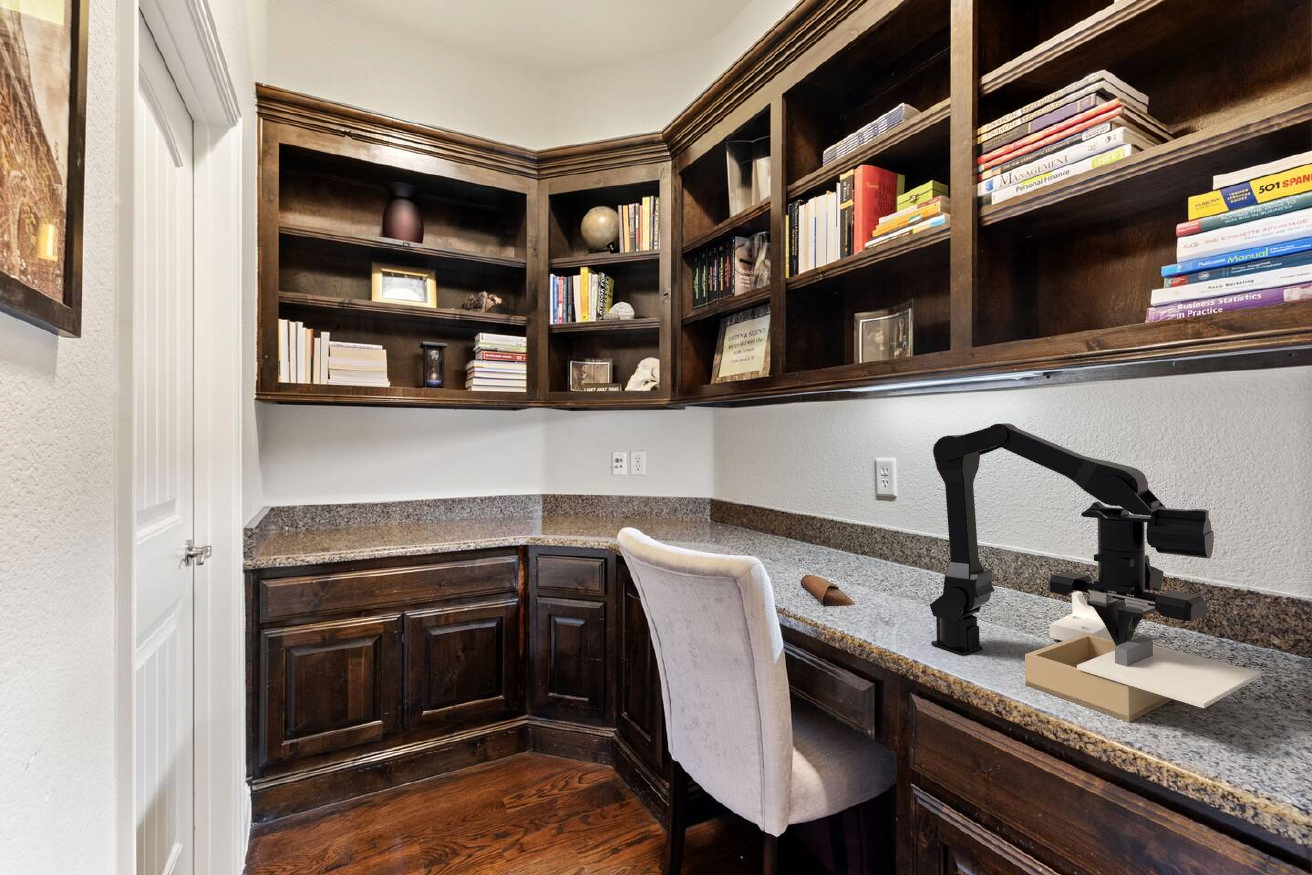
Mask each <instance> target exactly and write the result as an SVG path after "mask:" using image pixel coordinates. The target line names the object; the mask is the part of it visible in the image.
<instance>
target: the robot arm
mask: <svg viewBox="0 0 1312 875" xmlns="http://www.w3.org/2000/svg"><path fill="white" fill-rule="evenodd" d="M1001 448H1002V449H1004V450H1006V451H1009V452H1011V453H1013V454H1014V455H1017V456H1019V457H1021V458H1024V459H1025V460H1028V461H1030V462H1033V463H1035V464H1037V465H1038V466H1041V467H1044V468H1046V469H1048V470H1050V471H1053V472H1054V473H1057V474H1060V475H1062V476H1063V477H1066V478H1067V479H1069V480H1071V481H1072V482H1073V483H1075V484H1076V485H1077V486H1078V487H1079V488H1080V489H1082V490H1083V491H1084V492H1085V493H1087V494H1089V495H1090V496H1091V497H1093V498H1095V499H1096V500H1098V501H1094V502H1092V504H1090V506H1089V507H1088V508H1087V509H1085V510H1084V511H1082V512H1081V513H1080V516H1082V517H1083V518H1092V519H1093V518H1095V519H1097V553H1095V554H1093V562H1097V574H1098V575H1097V577H1098V578H1097V579H1096V580H1094V581H1093V578H1091V576H1090V575H1089V574H1085V573H1078V572H1073V571H1070V570H1069V571H1068V570H1067V571H1066V570H1065V571H1063V572H1059V573H1054V574H1051V576H1050V577H1049V579H1048V581H1047V588H1048V592H1049V593H1051V594H1052V593H1053V594H1057V595H1061V596H1065V597H1067V596H1070V595H1072V593H1074V592H1076V591H1079V592H1083V593H1087V594H1089V600H1088V601H1087V600H1086V601H1087V605H1088V606H1092V607H1093V608H1094V609H1095V611H1096V612H1097V614H1098V615H1099V617H1100V618H1101V620H1102V621H1103V623H1104V624H1105V626H1106V628H1107V630H1108V632H1109V634H1110V635H1111V637H1112V639H1113V641H1114V643H1115V645H1116V646H1118V645H1120V644H1123V643H1125V642H1128V641H1131V640H1132V638H1133V637H1134V634H1135V632H1136V630H1137V627H1138V626H1139V624H1140V623H1141V621H1142V619H1143V618H1144V617H1145V616H1148V615H1150V614H1153V613H1156V612H1157V613H1158V614H1159V615H1160V616H1161V617H1165V618H1169V619H1174V620H1179V621H1183V622H1193V621H1195V620H1198V619H1200V618H1202V617H1206V616H1207V615H1208V612H1207V611H1208V610H1207V608H1208V607H1207V606H1208V604H1207V602H1206V600H1205V598H1203V596H1202V595H1200V594H1196V593H1195V594H1194V593H1189V592H1184V591H1178V590H1172V589H1171V590H1168V591H1165V592H1161V591H1162V585H1163V581H1164V580H1163V579H1164V574H1165V572H1164V570H1161V569H1159V568H1157V567H1155V566H1152V565H1151V564H1150V558H1149V554H1148V555H1147V554H1146V546H1145V545H1146V544H1145V543H1147V544H1148V545H1149V546H1150V548H1155V551H1156V552H1157V553H1159V554H1166V555H1174V556H1183V557H1189V558H1190V557H1191V558H1199V559H1200V558H1201V559H1206V560H1207V559H1211V557H1212V555H1213V551H1214V542H1215V532H1214V530H1212V523H1211V520H1210V516H1209V514H1210V513H1209V512H1210V511H1209V510H1208V509H1202V508H1194V509H1182V508H1169V507H1167V508H1166V506H1165V505H1164V504H1163V502H1162V501H1161V500H1160V499H1159V498H1158V497H1157V496H1156V495H1155V494H1154V493H1153V492H1152V491H1151V489H1150V488H1149V482H1148V479H1147V478H1146V475H1145V474H1144V472H1143V471H1141V470H1140V469H1138V468H1136V467H1134V466H1129V465H1125V464H1122V463H1117V462H1113V461H1109V460H1104V459H1099V458H1093V457H1089V456H1085V455H1082V454H1080V453H1078V452H1076V451H1073V450H1070V449H1068V448H1066V447H1063V446H1062V445H1059V444H1056V443H1055V442H1051V441H1049V440H1047V439H1044V438H1042V437H1040V436H1037V435H1035V434H1032V433H1030V432H1027V431H1025V430H1023V429H1021V428H1018V427H1016V426H1015V425H1014V424H1011V423H1007V422H1006V423H1003V422H1002V423H995V424H992V425H990V426H988V427H985V428H982V429H979V430H975V431H972V432H969V433H965V434H954V435H953V434H952V435H945V436H942V437H940V438H939V439H937V441H936V442H935V443H934V444H933V448H932V454H933V458H934V463H935V467H936V470H937V472H938V473H939V476H940V478H941V480H942V481H943V483H944V488H945V500H946V501H945V502H946V516H947V517H946V518H947V530H948V542H949V544H948V545H949V563H948V566H947V569H946V571H945V574H944V577H943V578H944V580H943V587H942V594H941V595H940V596H939V597H937V598H936V599H935V600H933V602H931V603H930V604H929V607H930V611H931V613H932V616H933V617H936V618H935V620H936V621H935V622H936V628H935V629H936V640H933V641H931V642H930V644H931V645H932V646H934V647H936V648H940V649H944V650H945V651H948V652H951V653H954V654H958V655H960V656H961V655H962V656H963V655H967V654H969V653H973V652H976V651H980V650H982V649H983V648H984V646H983V645H982V644H980V642H981V641H980V640H981V639H980V626H979V625H978V617H977V616H975V614H977V613H980V611H981V608H982V606H983V605H985V604H987V603H988V602H989V600H990V599H991V598H992V597H991V596H992V593H994V592H995V588H994V586H993V582H992V580H993V570H992V569H985V568H984V567H983V565H982V563H981V562H980V558H979V548H978V547H979V546H978V545H979V544H978V531H977V517H976V508H975V507H976V504H975V502H976V501H975V489H974V481H975V479H976V476H977V474H978V470H979V467H980V460H981V456H982V455H985V454H988V453H991V452H993V451H996V450H998V449H1001ZM1103 504H1104V505H1103ZM1105 505H1108V506H1105ZM1109 506H1110V507H1109ZM1145 523H1146V530H1145ZM1145 534H1146V538H1145ZM1145 539H1146V542H1145ZM1146 590H1147V591H1146ZM1150 591H1154V592H1155V591H1156V592H1161V593H1159V594H1158V593H1154V592H1150Z"/></svg>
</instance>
